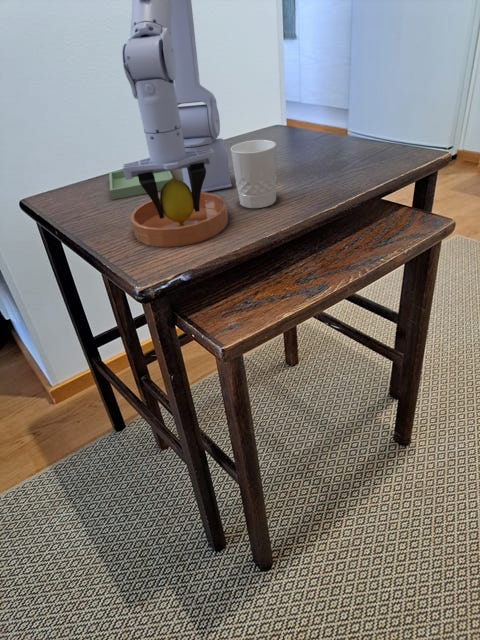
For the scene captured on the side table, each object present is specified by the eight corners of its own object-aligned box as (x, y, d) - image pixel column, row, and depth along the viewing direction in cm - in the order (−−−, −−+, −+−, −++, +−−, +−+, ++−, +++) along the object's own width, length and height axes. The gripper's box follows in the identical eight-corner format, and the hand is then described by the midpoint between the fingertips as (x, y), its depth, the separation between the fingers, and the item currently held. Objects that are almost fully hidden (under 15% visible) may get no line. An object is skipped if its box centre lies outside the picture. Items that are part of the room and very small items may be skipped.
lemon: (188, 214, 81) (180, 170, 76) (202, 223, 77) (195, 177, 72) (160, 224, 78) (150, 178, 74) (173, 233, 74) (164, 186, 70)
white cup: (243, 213, 79) (237, 155, 73) (232, 199, 86) (225, 144, 80) (285, 204, 80) (282, 147, 75) (271, 191, 87) (267, 137, 81)
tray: (168, 170, 105) (166, 162, 104) (175, 188, 94) (173, 178, 93) (111, 181, 103) (109, 172, 102) (112, 199, 92) (109, 190, 91)
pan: (217, 201, 85) (215, 186, 84) (237, 234, 72) (235, 217, 71) (132, 217, 83) (128, 202, 81) (137, 254, 70) (133, 237, 68)
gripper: (115, 142, 64) (138, 230, 72) (214, 126, 66) (225, 213, 74) (114, 132, 70) (135, 214, 78) (205, 117, 72) (216, 199, 80)
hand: (179, 213), depth 76 cm, fingers closed on lemon, 5 cm apart
